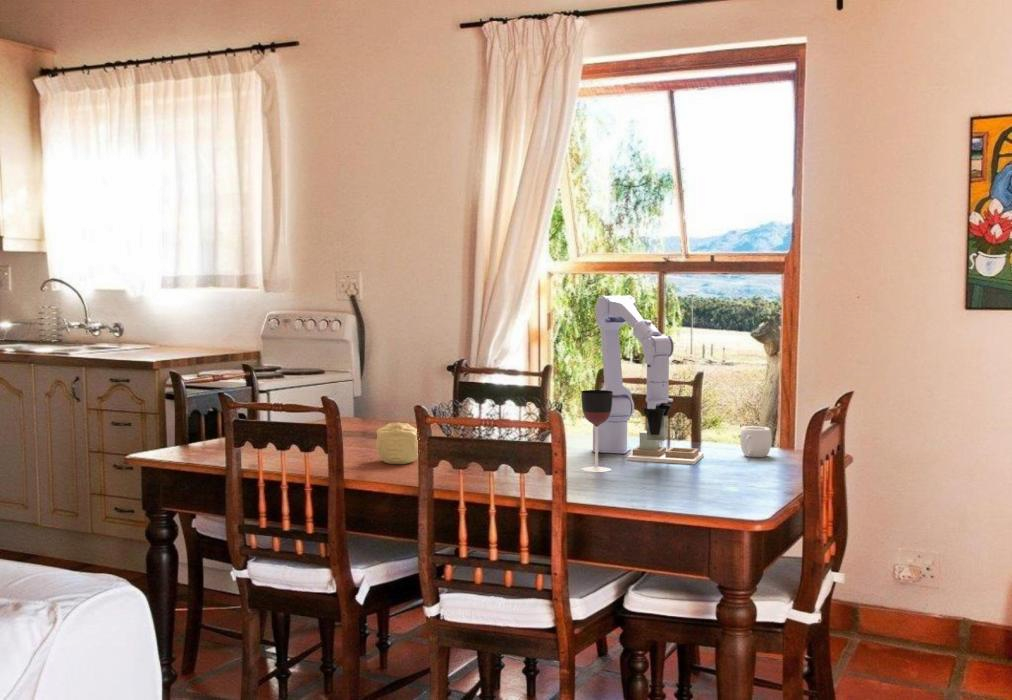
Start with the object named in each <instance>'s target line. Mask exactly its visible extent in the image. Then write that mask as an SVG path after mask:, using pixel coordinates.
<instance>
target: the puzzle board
mask: <svg viewBox="0 0 1012 700" xmlns="http://www.w3.org/2000/svg"><path fill="white" fill-rule="evenodd" d="M703 457H704V452H700V449H699V448H691V447H690V448H688V447H677V446H676V447H675V446H671V447H669V448H668V449H667V447H666V446H660V441H659V440H647V429H646V430H641V431H639V445H637V446H636V447H635V448H633V449H632V453H631V454H629V455H627V456H626V461H633V462H634V461H635V462H649V463H661V464H663V463H665V464H680V465H695V464H696V463H698V462H699V460H701V459H702V458H703Z"/></svg>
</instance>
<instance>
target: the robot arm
mask: <svg viewBox="0 0 1012 700" xmlns="http://www.w3.org/2000/svg"><path fill="white" fill-rule="evenodd" d="M595 320H596V326H598V327H599V328H600V342H601V354H602V366H603V367H602V368H603V378H604V379H603V380H604V386H603V387H602V388H601V389H600V390H607V391H612V392H613V399H612V409H611V413H610V416H609V418H608V419H607V420H606V421H605V422H604V423H602V424H600V425H599V426H598V453H608V454H626V453H628V452H630V451H631V450H632V448H631V447H628V421H630V418H632V416H633V415H634V412H635V402H634V400H633V396H632V392H631V390H630V389H628V388H627V387H626V386H625V385H624V384H623V383H624V380H623V370H622V358H621V357H622V356H621V343H620V332H619V331H620V329H621V327H623V326H625V325H626V324H628V325H630V327H631V328H632V334H633V336H634V337H635V339H637V340H638V342H639V343H640V344H641V345H642V346H641V347H642V353H643V355H644V356H643V357H644V363H645V365H646V395H645V396H646V397H645V402H646V403H647V404H646V405H647V406H644V407H643V409H642V410H643V412H644V414H645V416H646V421H647V420H648V424H649V429H650V433H651V435H659V433H660V428H661V421H662V417H663V415H664V416H669V412H670V410H671V408H672V404H668V403H672V402H674V399H673V398H669V394H670V393H669V390H670V389H669V385H670V380H669V379H670V358H671V356H672V355H673V353H674V346H675V345H674V341H673V339H672V337H671V336H670V335H668V334H663V333H661V332H660V330H658V329H657V327H656V326H655V324H654V323H653V322H652V321H651V320H650V319H644V318H643V317H642V315H641V314H640V312H639V311H638V310H637V302H636V300H635V299H634V297H633V296H632V295H630V294H629V295H600V296H599V297H598V299H597V301H596V303H595ZM592 425H593V424H592ZM591 452H593V453H595V425H593V427H592V450H591Z"/></svg>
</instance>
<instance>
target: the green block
mask: <svg viewBox="0 0 1012 700" xmlns="http://www.w3.org/2000/svg"><path fill="white" fill-rule="evenodd" d="M668 421H669V415H667V416H664V415H663V417H662V421H661V428H660V433H659V435H651V433H650V429H649V424H648V420H647V419H646V431H647V440H659V442H660V441H662V442H663V441H665V440H667V439H668V428H669V427H668V423H669V422H668Z"/></svg>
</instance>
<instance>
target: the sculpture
mask: <svg viewBox="0 0 1012 700" xmlns="http://www.w3.org/2000/svg"><path fill="white" fill-rule="evenodd" d="M417 429H418V428H416V427H414V426H412V425H410V423H405V422H404V423H402V422H399V421H398V422H395V423H394V422H393V423H392V422H391V423H390V422H389V423H387V424H385V425H384V426H382V427H379V428H378V429H377V430H376V431H375V432H376V437H377V438H376V441H375V442H376V443H375V445H376V450H377V453H378V457H379V459H380V460H381V461H383V462H384V463H385V464H390V465H406V464H407V465H408V464H410V463H412V462H414V461H415V460H416V459H417V457H418V456H419V454H418V440H417Z"/></svg>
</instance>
